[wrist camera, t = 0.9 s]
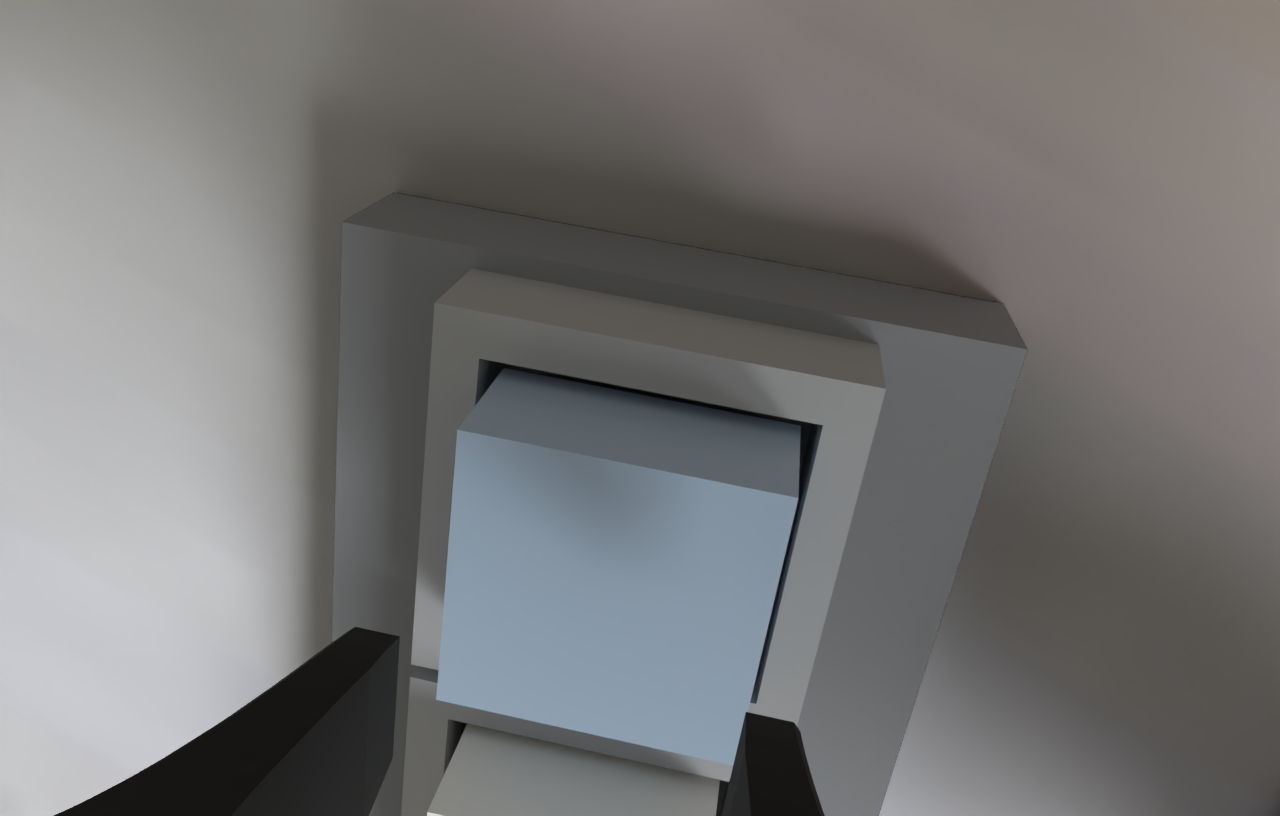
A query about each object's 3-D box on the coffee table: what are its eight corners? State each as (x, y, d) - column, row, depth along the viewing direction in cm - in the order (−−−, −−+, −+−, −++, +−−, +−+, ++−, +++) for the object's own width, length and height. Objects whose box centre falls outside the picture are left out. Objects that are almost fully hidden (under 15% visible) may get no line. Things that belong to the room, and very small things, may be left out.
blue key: (800, 425, 17) (798, 497, 15) (744, 669, 19) (735, 766, 17) (503, 367, 18) (457, 430, 15) (480, 613, 20) (436, 699, 17)
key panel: (1003, 304, 20) (1051, 395, 16) (768, 1077, 29) (761, 1259, 25) (394, 192, 21) (290, 250, 17) (357, 976, 30) (286, 1136, 26)
